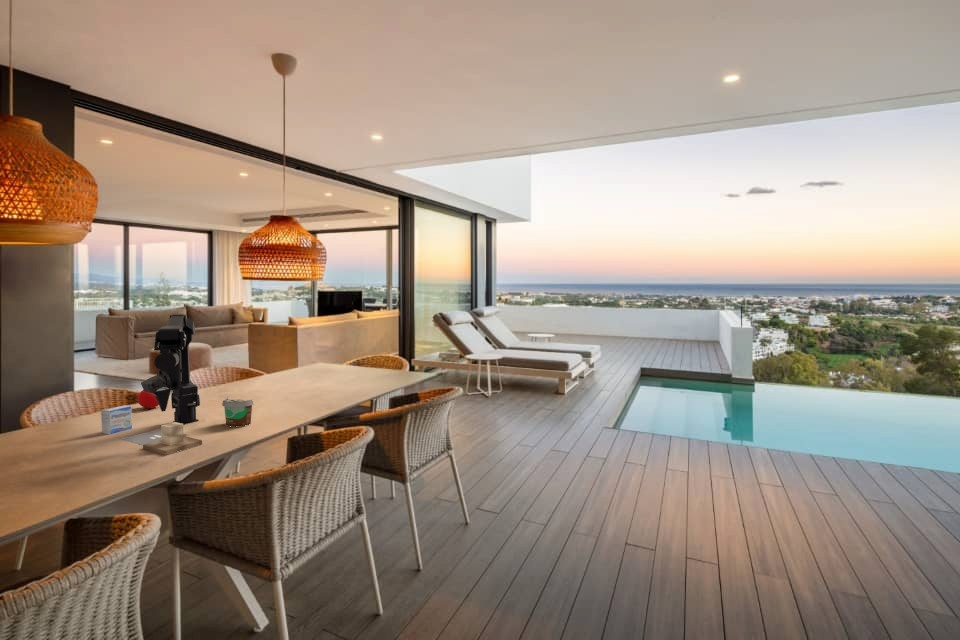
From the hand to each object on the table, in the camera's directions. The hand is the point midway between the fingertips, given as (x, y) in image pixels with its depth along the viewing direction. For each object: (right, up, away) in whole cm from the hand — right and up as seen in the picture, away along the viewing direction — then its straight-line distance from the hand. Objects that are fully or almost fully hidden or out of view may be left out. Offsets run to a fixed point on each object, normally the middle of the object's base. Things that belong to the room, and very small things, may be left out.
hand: (172, 413), depth 159 cm
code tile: (-12, -11, +10) cm, 19 cm away
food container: (+7, -10, +26) cm, 29 cm away
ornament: (-40, -8, +49) cm, 64 cm away
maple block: (0, -10, +1) cm, 10 cm away
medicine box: (-31, -10, +16) cm, 36 cm away
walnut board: (0, -11, +1) cm, 11 cm away
